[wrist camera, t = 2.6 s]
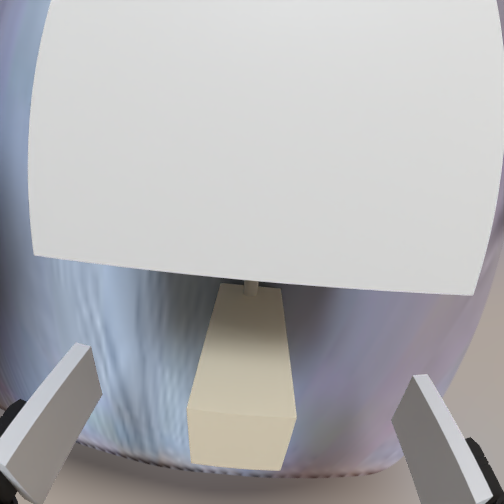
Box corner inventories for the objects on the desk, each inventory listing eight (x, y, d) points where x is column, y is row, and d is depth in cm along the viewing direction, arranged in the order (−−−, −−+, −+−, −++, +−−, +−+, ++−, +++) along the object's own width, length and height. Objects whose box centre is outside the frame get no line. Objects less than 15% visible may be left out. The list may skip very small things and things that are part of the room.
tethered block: (194, 330, 18) (153, 456, 9) (221, -27, 11) (191, -139, 3) (297, 339, 18) (318, 470, 9) (336, -15, 11) (392, -117, 3)
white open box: (157, 190, 16) (33, 255, 6) (190, -58, 11) (143, -167, 1) (359, 209, 16) (473, 295, 6) (372, -40, 11) (443, -136, 1)
